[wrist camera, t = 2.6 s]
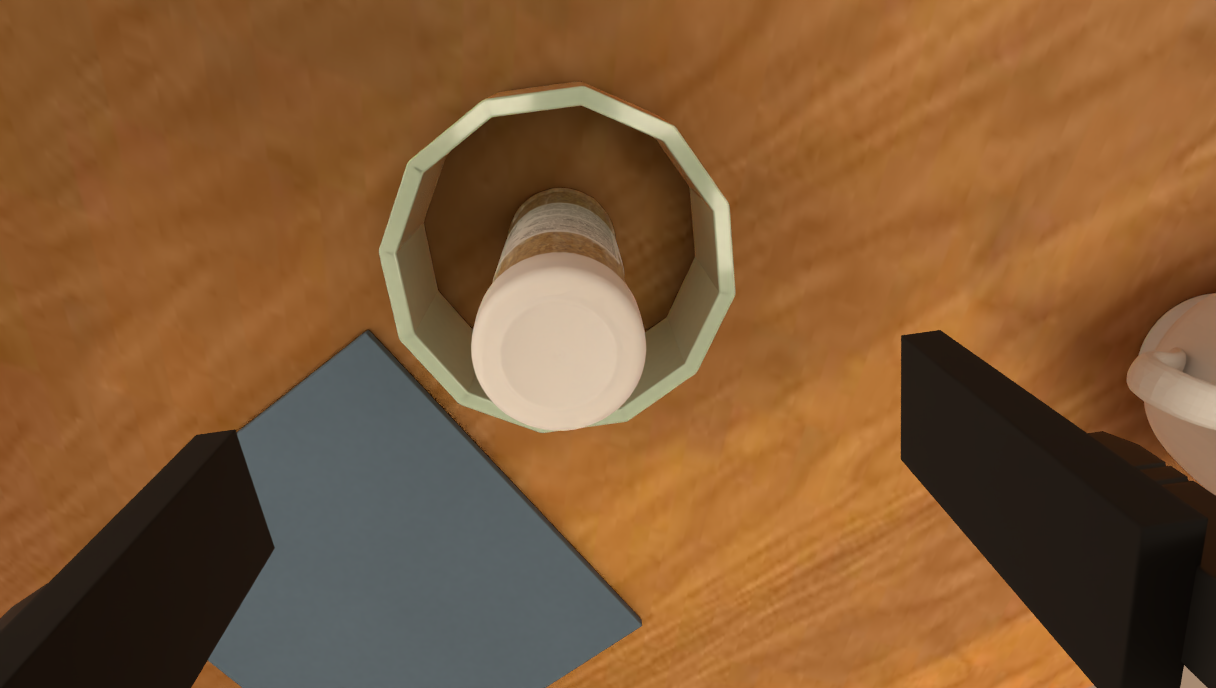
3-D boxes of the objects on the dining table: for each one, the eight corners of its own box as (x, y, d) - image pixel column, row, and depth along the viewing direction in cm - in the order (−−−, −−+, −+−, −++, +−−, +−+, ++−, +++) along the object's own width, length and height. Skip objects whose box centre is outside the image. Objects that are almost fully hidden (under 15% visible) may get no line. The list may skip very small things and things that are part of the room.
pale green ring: (350, 212, 31) (308, 243, 26) (588, 17, 29) (593, 8, 24) (539, 423, 35) (535, 486, 30) (761, 264, 33) (798, 302, 28)
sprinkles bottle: (583, 309, 33) (594, 463, 20) (488, 260, 32) (438, 391, 20) (635, 216, 32) (681, 321, 19) (538, 163, 31) (518, 236, 18)
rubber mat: (84, 551, 36) (78, 557, 36) (368, 328, 33) (365, 332, 32) (379, 787, 42) (377, 795, 42) (641, 619, 39) (642, 626, 39)
